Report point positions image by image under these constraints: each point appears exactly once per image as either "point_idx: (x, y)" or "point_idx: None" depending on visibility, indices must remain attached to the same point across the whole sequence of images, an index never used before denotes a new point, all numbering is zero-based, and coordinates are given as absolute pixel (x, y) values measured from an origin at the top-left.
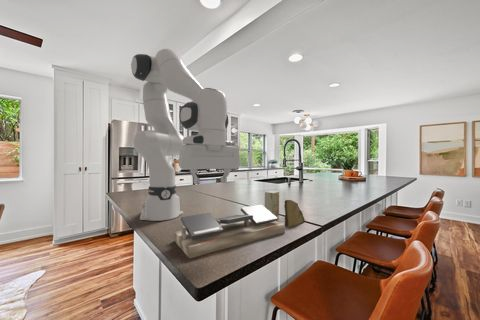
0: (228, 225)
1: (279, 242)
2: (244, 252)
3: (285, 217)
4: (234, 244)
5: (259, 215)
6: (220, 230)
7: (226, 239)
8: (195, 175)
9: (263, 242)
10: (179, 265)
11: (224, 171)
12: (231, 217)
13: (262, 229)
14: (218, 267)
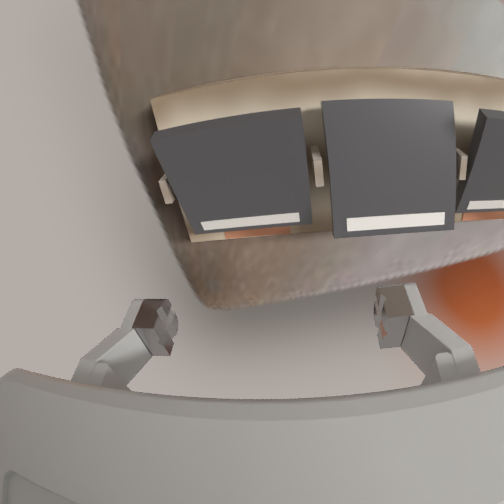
0: None
1: (452, 248)
2: (341, 254)
3: None
4: None
5: (501, 185)
6: (300, 223)
7: (312, 229)
8: (131, 373)
9: None
10: (175, 244)
11: (430, 367)
12: (390, 170)
13: None
14: (253, 282)
